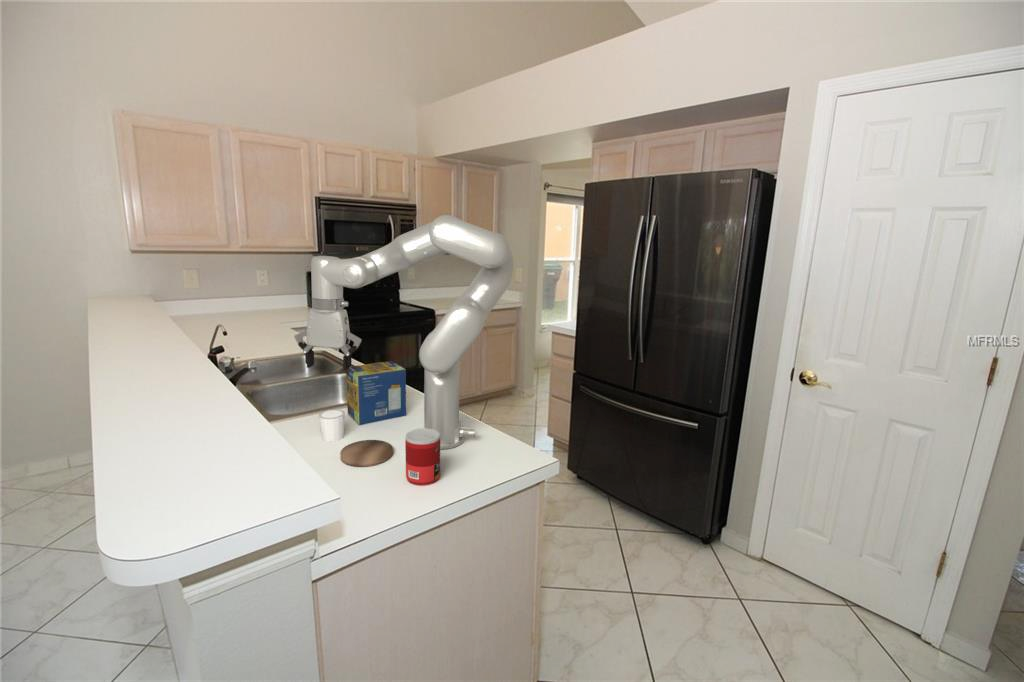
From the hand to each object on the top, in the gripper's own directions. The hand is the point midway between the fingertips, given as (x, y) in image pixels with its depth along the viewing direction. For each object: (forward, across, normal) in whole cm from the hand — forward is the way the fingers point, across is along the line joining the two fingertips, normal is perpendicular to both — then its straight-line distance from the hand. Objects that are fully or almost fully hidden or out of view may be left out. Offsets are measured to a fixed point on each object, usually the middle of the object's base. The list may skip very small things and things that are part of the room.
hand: (328, 367), depth 128 cm
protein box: (+20, -8, -17) cm, 28 cm away
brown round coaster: (+20, -13, +10) cm, 26 cm away
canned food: (+20, -30, +20) cm, 41 cm away
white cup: (+20, -1, 0) cm, 20 cm away
